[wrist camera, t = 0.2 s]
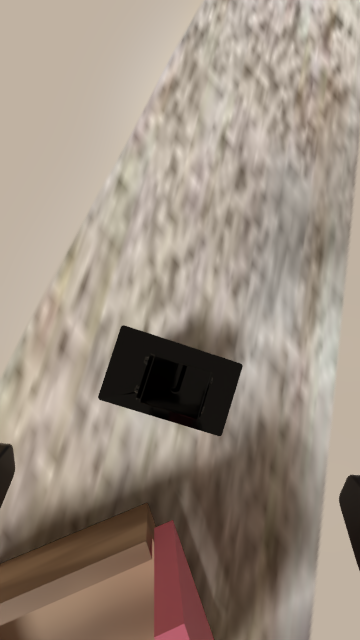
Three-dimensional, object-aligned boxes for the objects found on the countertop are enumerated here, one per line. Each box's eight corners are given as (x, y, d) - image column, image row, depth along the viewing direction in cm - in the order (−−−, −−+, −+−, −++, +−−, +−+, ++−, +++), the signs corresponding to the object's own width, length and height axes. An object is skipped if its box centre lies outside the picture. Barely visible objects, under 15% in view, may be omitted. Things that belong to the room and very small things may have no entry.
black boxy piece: (264, 360, 24) (289, 362, 20) (236, 456, 23) (256, 481, 19) (106, 308, 24) (95, 298, 19) (72, 405, 23) (51, 418, 18)
